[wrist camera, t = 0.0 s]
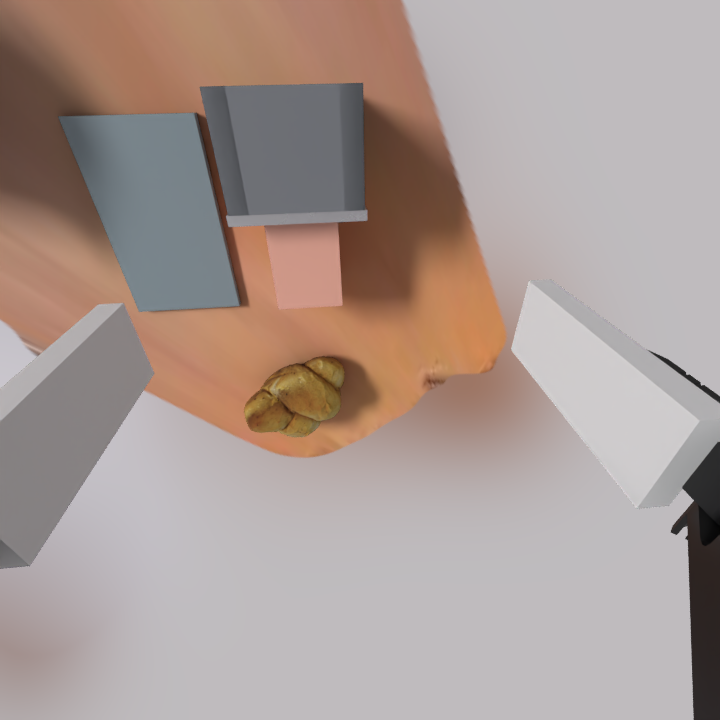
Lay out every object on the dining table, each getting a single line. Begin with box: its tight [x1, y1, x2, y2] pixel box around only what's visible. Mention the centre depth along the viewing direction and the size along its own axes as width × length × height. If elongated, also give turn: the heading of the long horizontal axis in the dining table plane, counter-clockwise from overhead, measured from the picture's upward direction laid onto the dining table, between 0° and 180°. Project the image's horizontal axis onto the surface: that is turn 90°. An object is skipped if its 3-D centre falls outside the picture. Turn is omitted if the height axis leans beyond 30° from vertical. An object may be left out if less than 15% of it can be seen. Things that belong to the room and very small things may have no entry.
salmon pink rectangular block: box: [264, 222, 343, 309], centre depth 33 cm, size 13×6×8 cm, turn 1°
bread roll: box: [244, 356, 345, 437], centre depth 45 cm, size 13×10×8 cm
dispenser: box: [200, 83, 367, 227], centre depth 29 cm, size 8×10×10 cm
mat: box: [58, 113, 241, 312], centre depth 35 cm, size 18×11×1 cm, turn 1°
